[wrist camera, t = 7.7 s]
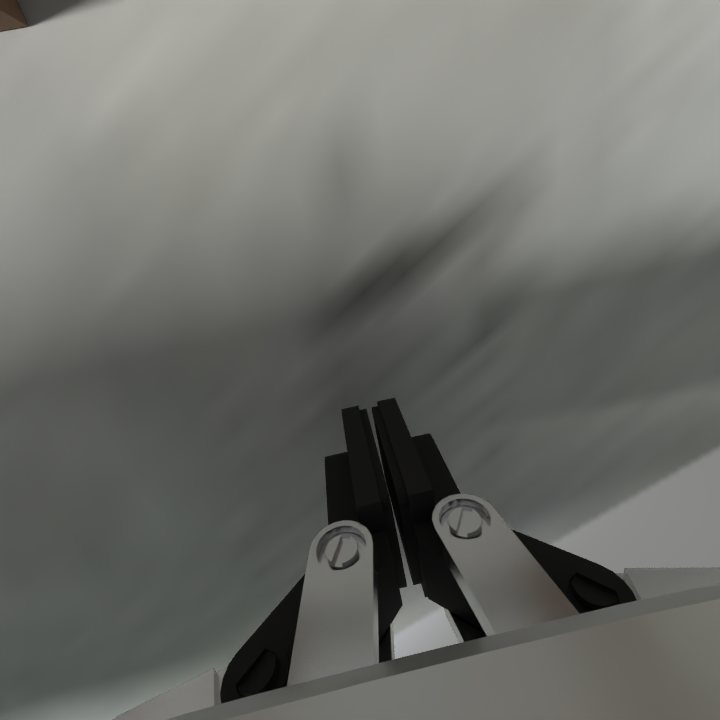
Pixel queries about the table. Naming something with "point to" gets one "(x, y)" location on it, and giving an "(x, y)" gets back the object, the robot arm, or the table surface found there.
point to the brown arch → (11, 15)
